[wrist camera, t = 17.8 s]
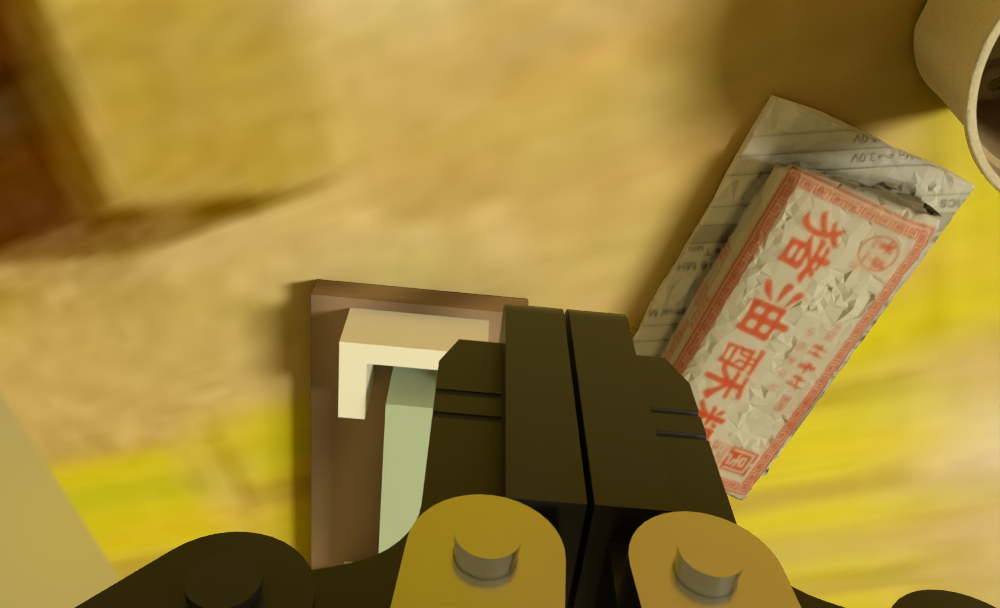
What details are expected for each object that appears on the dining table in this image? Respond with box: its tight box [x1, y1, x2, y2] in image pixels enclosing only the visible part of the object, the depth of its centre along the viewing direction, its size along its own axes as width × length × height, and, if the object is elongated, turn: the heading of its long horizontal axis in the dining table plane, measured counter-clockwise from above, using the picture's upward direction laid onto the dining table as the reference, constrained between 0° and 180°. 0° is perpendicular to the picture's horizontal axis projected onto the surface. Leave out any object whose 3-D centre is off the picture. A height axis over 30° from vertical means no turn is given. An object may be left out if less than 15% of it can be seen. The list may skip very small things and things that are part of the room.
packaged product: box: [632, 95, 975, 500], centre depth 40 cm, size 18×5×10 cm
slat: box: [379, 366, 438, 553], centre depth 43 cm, size 2×16×4 cm, turn 174°
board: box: [311, 279, 528, 570], centre depth 45 cm, size 10×21×2 cm, turn 174°
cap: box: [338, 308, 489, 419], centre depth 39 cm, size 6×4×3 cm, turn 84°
